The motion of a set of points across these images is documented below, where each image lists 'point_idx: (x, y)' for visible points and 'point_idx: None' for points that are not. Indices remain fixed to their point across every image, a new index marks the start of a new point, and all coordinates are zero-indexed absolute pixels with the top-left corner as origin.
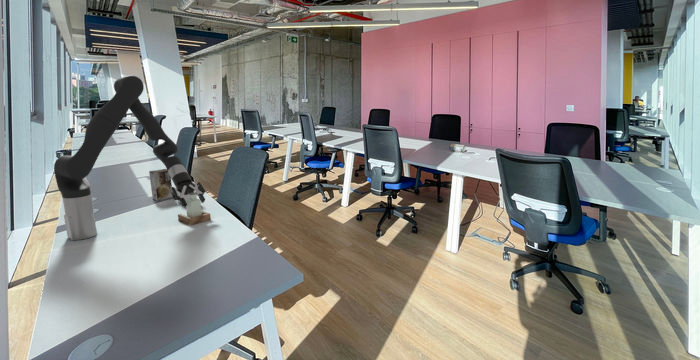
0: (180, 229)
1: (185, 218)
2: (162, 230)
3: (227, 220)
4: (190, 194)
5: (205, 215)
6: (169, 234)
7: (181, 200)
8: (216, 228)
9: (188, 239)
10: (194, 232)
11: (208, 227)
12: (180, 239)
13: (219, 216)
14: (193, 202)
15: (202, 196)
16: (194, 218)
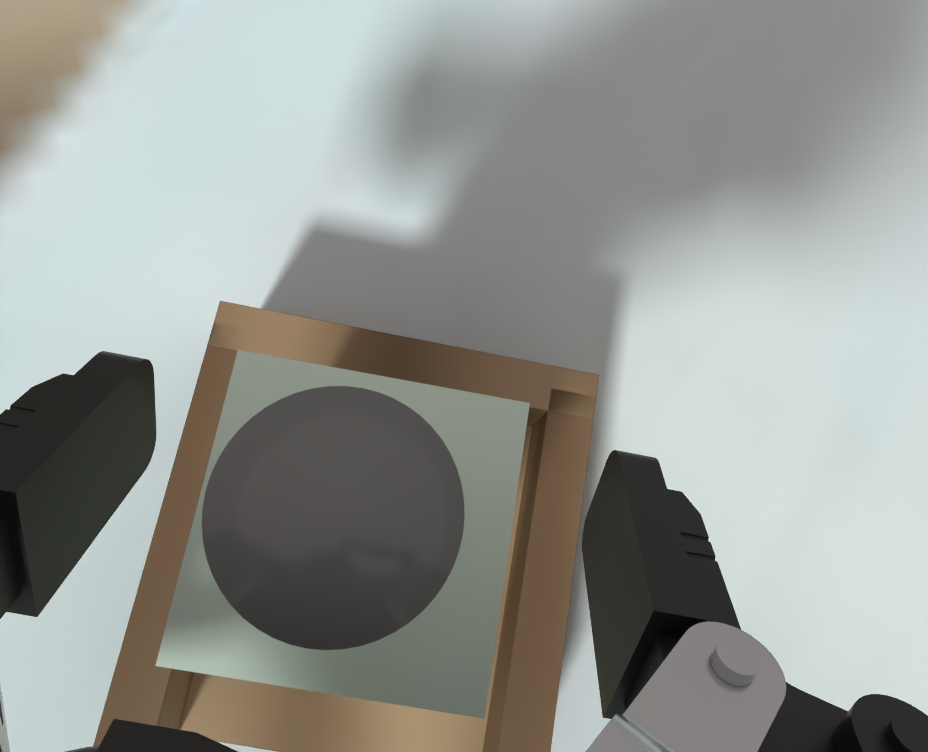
0: (741, 384)
1: (576, 517)
2: (904, 572)
3: (166, 108)
4: (457, 483)
5: (315, 321)
6: (919, 352)
7: (727, 598)
8: (476, 24)
9: (866, 47)
10: (705, 146)
11: (500, 129)
12: (917, 117)
13: (51, 340)
14: (450, 396)
15: (33, 421)
16: (515, 361)
